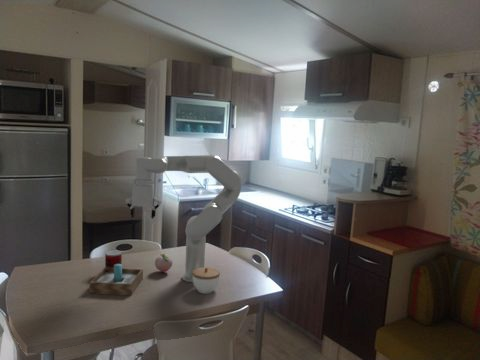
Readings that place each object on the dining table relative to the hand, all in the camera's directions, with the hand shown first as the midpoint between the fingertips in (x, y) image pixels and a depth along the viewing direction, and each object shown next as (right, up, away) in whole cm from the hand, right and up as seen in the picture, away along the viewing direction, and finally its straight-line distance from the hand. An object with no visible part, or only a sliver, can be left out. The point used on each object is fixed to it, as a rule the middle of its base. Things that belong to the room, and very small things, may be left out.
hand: (143, 217), depth 189 cm
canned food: (-17, -29, +6) cm, 34 cm away
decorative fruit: (+8, -30, +11) cm, 33 cm away
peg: (-10, -31, -8) cm, 34 cm away
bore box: (-10, -31, -8) cm, 34 cm away
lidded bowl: (+31, -34, -8) cm, 47 cm away
